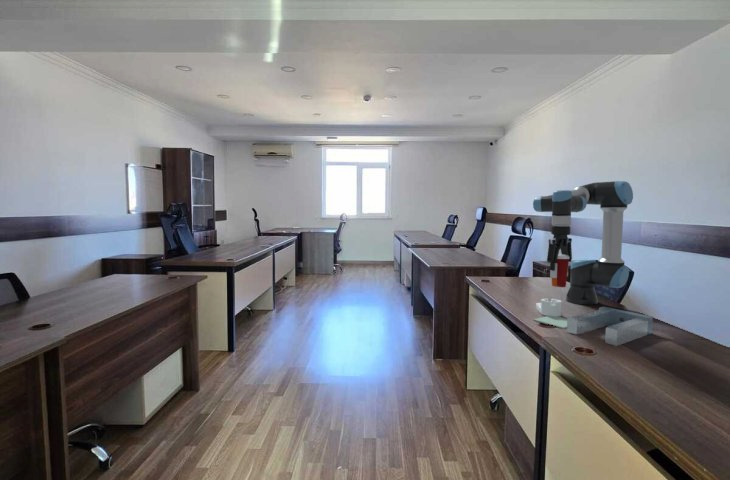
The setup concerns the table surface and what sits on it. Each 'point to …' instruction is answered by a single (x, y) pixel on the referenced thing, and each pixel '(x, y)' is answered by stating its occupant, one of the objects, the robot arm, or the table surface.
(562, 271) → the paper cup
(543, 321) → the mat
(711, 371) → the table surface
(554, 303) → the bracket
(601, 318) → the vise
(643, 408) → the table surface
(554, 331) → the table surface
